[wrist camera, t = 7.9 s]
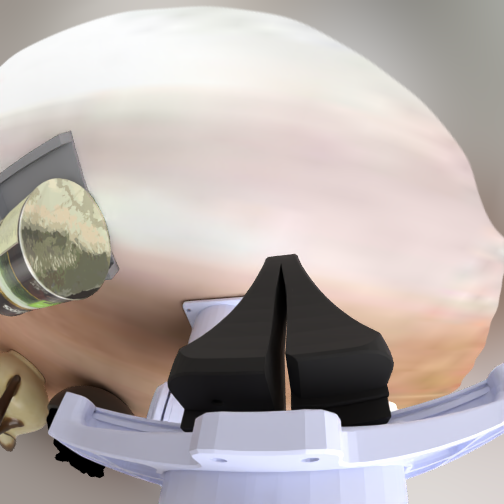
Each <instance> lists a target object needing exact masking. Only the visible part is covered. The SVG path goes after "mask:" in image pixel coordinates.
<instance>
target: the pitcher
mask: <svg viewBox="0 0 504 504" xmlns="http://www.w3.org/2000/svg"><path fill="white" fill-rule="evenodd" d="M44 385H45V379H44V377H43V376H42V374H41V373H40V372H39V371H38V370H37V369H36V367H35V366H34V365H33V364H32V363H30V362H29V361H28V360H27V359H26V358H25V357H23V356H22V355H20V354H19V353H18V352H16V351H13V350H10V351H9V352H0V445H1V446H2V447H3V448H4V449H5V450H6V451H10V452H11V451H12V450H13V449H14V447H15V445H16V437H17V436H18V435H20V434H24V433H30V432H34V431H37V430H39V429H41V428H42V427H43V426H45V424H46V423H47V421H46V418H47V416H48V414H49V411H48V409H47V405H48V404H49V400H48V396H47V392H46V389H45V387H44Z"/></svg>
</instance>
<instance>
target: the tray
mask: <svg viewBox="0 0 504 504" xmlns="http://www.w3.org/2000/svg"><path fill="white" fill-rule="evenodd" d="M55 178H61V179H68V180H70V181H72V182H75V183H76V184H78V185H80V186H81V187H82V188H84V189H85V190H86V191H87V192H88V189H87V186H86V183H85V180H84V176H83V173H82V170H81V167H80V163H79V160H78V156H77V152H76V149H75V145H74V141H73V137H72V133H71V131H69V132H66V133H62V134H59V135H57V136H56V137H54V138H52V139H50V140H49V141H47V142H45V143H44V144H42V145H41V146H39V147H37V148H36V149H34V150H33V151H31V152H30V153H28V154H27V155H25V156H24V157H22V158H21V159H19V160H18V161H17V162H15V163H14V164H12V165H11V166H10V167H8V168H7V169H6V170H4V171H3V172H2V173H0V221H1V220H2V219H3V218H4V217H5V216H6V215H7V214H8V213H9V212H10V211H11V210H13V209H14V208H15V207H16V206H17V205H18V204H19V203H20V202H21V201H22V200H24V199H25V198H26V197H27V196H28V195H29V194H31V193H32V192H33V190H34V189H35V188H36V187H37V186H39V185H40V184H41V183H43V182H45V181H47V180H49V179H55ZM88 193H89V192H88ZM118 270H119V268H118V265H117V263H116V261H115V259H114V256H113V254H112V252H111V257H110V265H109V270H108V274H107V277H106V279H105V280H110V279H112V278H113V277H114V276H115V274H116V273H117V272H118Z"/></svg>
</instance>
